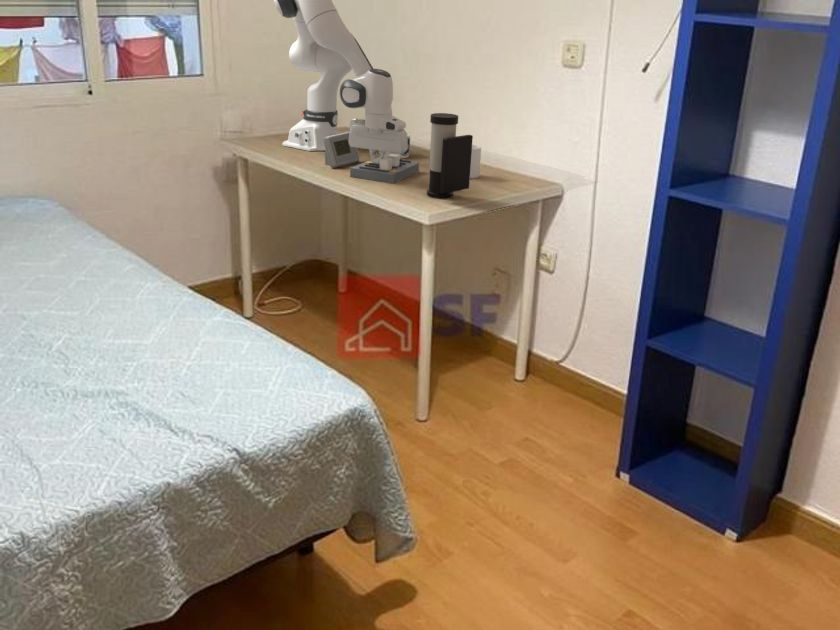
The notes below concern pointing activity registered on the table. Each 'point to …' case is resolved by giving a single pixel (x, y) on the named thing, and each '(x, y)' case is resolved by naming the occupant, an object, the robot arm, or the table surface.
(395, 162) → the slider
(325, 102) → the robot arm
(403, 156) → the mug
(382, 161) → the slider
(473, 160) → the mug
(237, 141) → the table surface
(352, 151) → the digital clock
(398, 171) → the switch unit
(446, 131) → the light fixture
